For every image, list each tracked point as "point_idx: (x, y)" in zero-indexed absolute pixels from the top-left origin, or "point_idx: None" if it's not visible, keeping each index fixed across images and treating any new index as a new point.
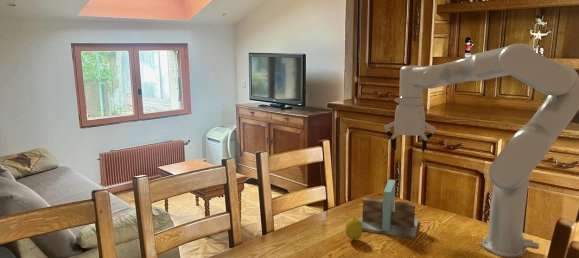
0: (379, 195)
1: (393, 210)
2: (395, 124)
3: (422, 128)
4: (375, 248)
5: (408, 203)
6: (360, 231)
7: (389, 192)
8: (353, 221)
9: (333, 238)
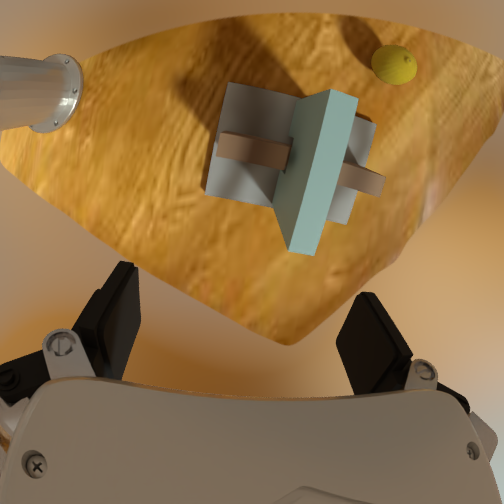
0: (285, 338)
1: (277, 196)
2: (493, 480)
3: (26, 464)
4: (332, 29)
5: (240, 155)
6: (379, 48)
7: (335, 90)
8: (407, 52)
9: (417, 82)
